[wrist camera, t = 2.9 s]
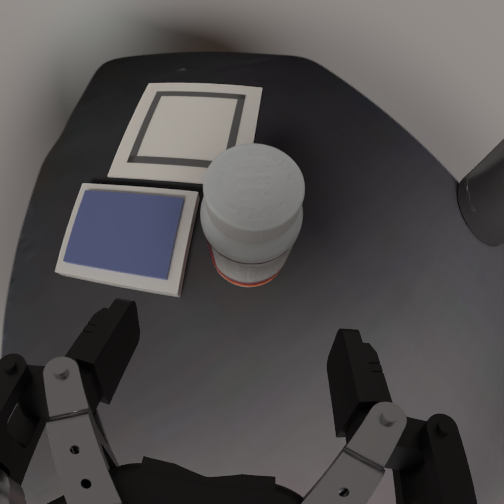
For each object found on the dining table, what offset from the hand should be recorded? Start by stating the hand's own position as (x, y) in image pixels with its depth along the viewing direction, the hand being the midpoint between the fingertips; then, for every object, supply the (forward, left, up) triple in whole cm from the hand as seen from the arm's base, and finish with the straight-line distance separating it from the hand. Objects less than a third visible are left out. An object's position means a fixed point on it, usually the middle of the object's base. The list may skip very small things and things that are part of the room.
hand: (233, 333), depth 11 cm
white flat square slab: (+8, -20, -12) cm, 25 cm away
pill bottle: (0, -7, -13) cm, 15 cm away
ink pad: (+11, -7, -12) cm, 18 cm away
